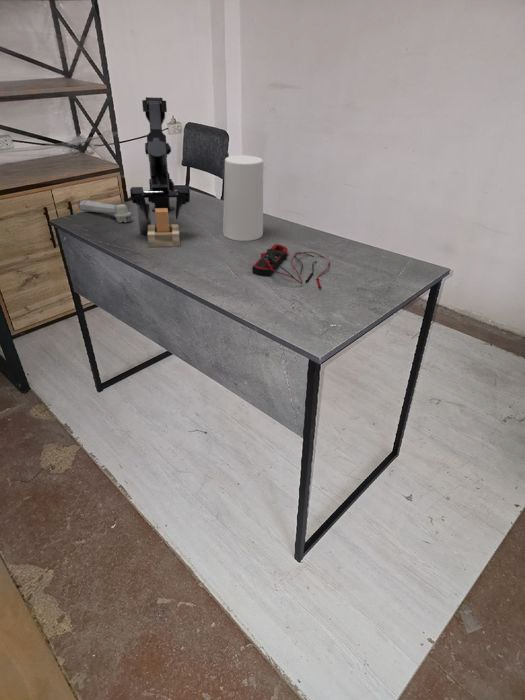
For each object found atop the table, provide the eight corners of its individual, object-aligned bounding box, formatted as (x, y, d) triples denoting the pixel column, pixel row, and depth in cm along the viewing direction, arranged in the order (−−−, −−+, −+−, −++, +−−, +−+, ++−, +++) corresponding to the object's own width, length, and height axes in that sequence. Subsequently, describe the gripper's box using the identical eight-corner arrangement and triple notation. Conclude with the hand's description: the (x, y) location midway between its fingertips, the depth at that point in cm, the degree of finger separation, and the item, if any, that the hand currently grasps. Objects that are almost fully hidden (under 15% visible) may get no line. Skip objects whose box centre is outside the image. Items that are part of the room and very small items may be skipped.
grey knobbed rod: (86, 198, 179) (131, 201, 167) (90, 215, 183) (135, 219, 170) (75, 201, 176) (120, 204, 163) (80, 218, 179) (124, 223, 166)
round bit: (143, 231, 162) (140, 202, 157) (154, 232, 161) (151, 203, 156) (138, 234, 159) (134, 205, 154) (148, 236, 158) (145, 207, 153)
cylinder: (256, 165, 142) (214, 160, 146) (254, 243, 156) (216, 237, 160) (271, 157, 153) (232, 152, 157) (268, 230, 167) (232, 225, 171)
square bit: (157, 237, 156) (155, 208, 150) (169, 237, 157) (167, 208, 151) (158, 242, 153) (155, 212, 147) (170, 241, 154) (168, 211, 148)
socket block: (149, 236, 158) (148, 224, 156) (178, 235, 160) (178, 224, 158) (148, 247, 150) (147, 235, 148) (179, 246, 152) (179, 234, 150)
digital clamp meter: (242, 264, 132) (271, 236, 151) (242, 279, 134) (270, 249, 154) (322, 279, 125) (341, 247, 145) (320, 294, 128) (339, 261, 148)
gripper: (187, 187, 162) (191, 229, 159) (132, 188, 158) (135, 230, 156) (187, 169, 151) (191, 213, 148) (128, 169, 148) (131, 215, 145)
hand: (162, 218), depth 149 cm, fingers open, 9 cm apart
